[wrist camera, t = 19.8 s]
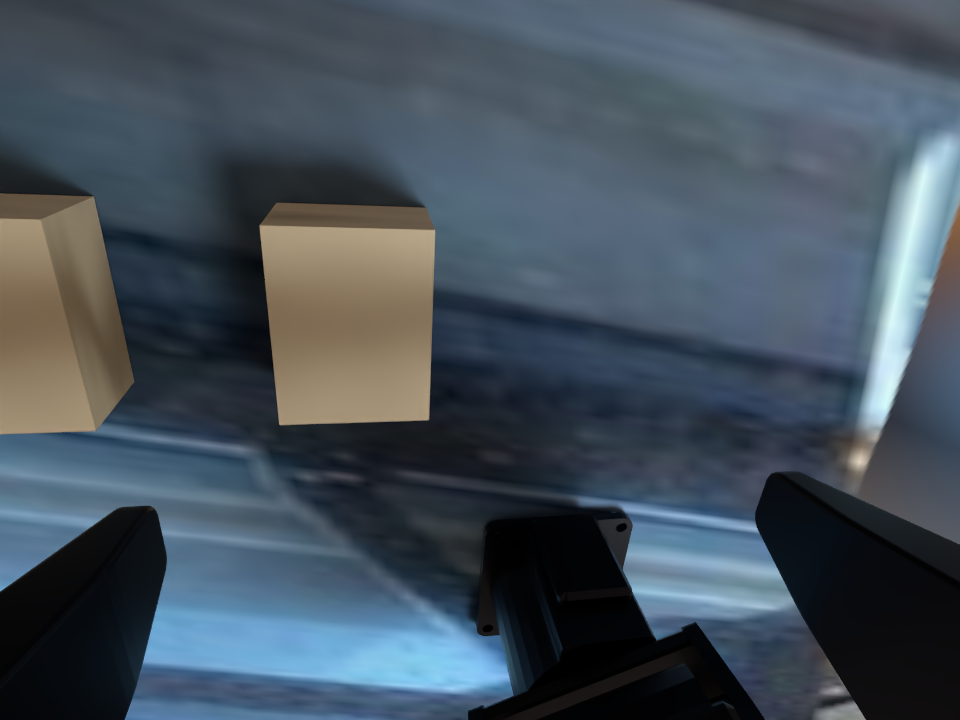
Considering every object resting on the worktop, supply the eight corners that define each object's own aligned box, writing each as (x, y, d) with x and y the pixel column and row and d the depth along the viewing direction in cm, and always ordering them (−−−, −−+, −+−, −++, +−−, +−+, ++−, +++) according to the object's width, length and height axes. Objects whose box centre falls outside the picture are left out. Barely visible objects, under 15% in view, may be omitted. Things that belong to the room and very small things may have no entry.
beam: (421, 376, 21) (429, 420, 18) (-21, 384, 18) (-87, 436, 16) (425, 207, 18) (435, 230, 16) (-89, 190, 16) (-182, 213, 13)
